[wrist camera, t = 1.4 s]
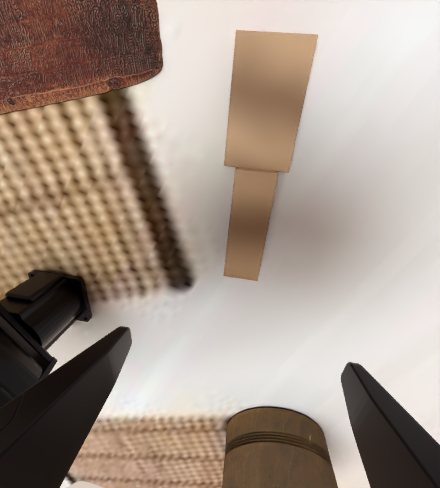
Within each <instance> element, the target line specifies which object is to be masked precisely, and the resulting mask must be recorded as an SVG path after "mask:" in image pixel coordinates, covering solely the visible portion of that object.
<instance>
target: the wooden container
mask: <svg viewBox="0 0 440 488" xmlns="http://www.w3.org/2000/svg"><path fill="white" fill-rule="evenodd" d="M222 488H338V486H337V482H336V479H335V475H334V471H333V468H332V464H331V460H330V456H329V452H328V448H327V445H326V441H325V437H324V434H323V431H322V430H321V428H320V427H319V426H318V425H317V424H316V423H315V422H314V421H312V420H311V419H309V418H308V417H306V416H304V415H302V414H299V413H297V412H293V411H290V410H286V409H280V408H268V407H264V408H254V409H250V410H246V411H243V412H241V413H239V414H237V415H235V416H234V417H233V418H232V419H231V420H230V421H229V423H228V426H227V435H226V447H225V460H224V471H223V484H222Z"/></svg>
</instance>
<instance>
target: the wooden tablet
mask: <svg viewBox="0 0 440 488" xmlns="http://www.w3.org/2000/svg"><path fill="white" fill-rule="evenodd" d="M161 51H162V49H161V41H160V37H159V14H158V7H157V2H156V0H0V114H3V113H7V112H12V111H17V110H22V109H27V108H33V107H39V106H43V105H48V104H53V103H58V102H63V101H67V100H72V99H77V98H82V97H86V96H90V95H96V94H101V93H105V92H108V91H110V90H111V89H112V88H113V89H116V90H117V89H120V88H123V87H127V86H131V85H134V84H138V83H140V82H143V81H145V80H147V79H149V78H151V77H153V76H154V75H156V74H157V73H158V72H159V71H160V69H161V67H162V58H161Z"/></svg>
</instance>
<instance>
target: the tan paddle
mask: <svg viewBox="0 0 440 488" xmlns="http://www.w3.org/2000/svg"><path fill="white" fill-rule="evenodd" d="M317 38H318V35H314V34H296V33H278V32H259V31H241V30H236V37H235V49H234V60H233V71H232V82H231V94H230V105H229V116H228V128H227V139H226V150H225V161H224V166H232V167H237V168H236V169H235V178H234V187H233V196H232V205H231V214H230V223H229V232H228V241H227V250H226V259H225V268H224V276H227V277H234V278H241V279H248V280H255V281H258V276H259V271H260V266H261V260H262V255H263V250H264V245H265V240H266V235H267V230H268V225H269V219H270V214H271V209H272V204H273V199H274V194H275V189H276V183H277V178H278V173H277V172H276V171H280V172H289V168H290V164H291V159H292V154H293V150H294V145H295V140H296V136H297V131H298V126H299V122H300V117H301V112H302V108H303V103H304V98H305V94H306V89H307V84H308V80H309V75H310V70H311V66H312V61H313V56H314V52H315V47H316V42H317Z"/></svg>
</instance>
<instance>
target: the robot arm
mask: <svg viewBox="0 0 440 488" xmlns="http://www.w3.org/2000/svg"><path fill="white" fill-rule="evenodd" d="M28 276H29V278H30V279H28V280H26V281H25V282H23V283H22V284H20V285H18V286H17V287H15V288H13V289H12V290H10V291H8V292H7V293H6V294H5V296H6V297H5V298H4V299H2V300H0V488H60V486H61V484H62V482H63V480H64V479H65V477H66V475H67V473H68V471H69V469H70V467H71V465H72V464H73V462H74V460H75V458H76V456H77V454H78V452H79V450H80V449H81V447H82V445H83V443H84V441H85V439H86V437H87V436H88V434H89V432H90V430H91V428H92V426H93V424H94V422H95V421H96V419H97V417H98V415H99V413H100V411H101V409H102V407H103V406H104V404H105V402H106V400H107V398H108V396H109V394H110V392H111V391H112V389H113V387H114V385H115V383H116V380H117V378H118V376H119V373H120V371H121V369H122V366H123V364H124V361H125V359H126V357H127V354H128V352H129V350H130V347H131V344H132V339H131V332H130V329H129V328H128V327H122V326H121V327H118V328H117V329H115V330H114V331H112V332H111V333H109V334H108V335H106V336H105V337H103V338H102V339H100V340H99V341H98V342H96V343H95V344H93V345H92V346H90V347H89V348H87V349H86V350H84V351H83V352H81V353H80V354H79V355H77V356H76V357H74V358H73V359H71V360H70V361H68V362H67V363H65V364H64V365H62V366H61V367H60V368H58V369H57V370H55V371H54V372H52V373H51V374H49V373H50V372H51V370H52V369H53V367H54V366H55V364H56V362H57V360H56V359H55V358H54V357H52V356H51V355H50V354H49V353H48V352H47V351H46V350H47V349H48V348H49V347H50V346H51V345H52V344H53V343H54V342H55V341H56V340H57V339H58V338H59V337H60V336H61V335H62V334H63V333H64V332H65V331H66V330H67V329H68V328H69V327H70V326H71V325H72V324H73V323H74V322H75V321H76V320H79V321H85V322H88V321H89V320H90V319H91V313H90V308H89V304H88V300H87V295H86V291H85V287H84V282H83V280H82V279H81V278H80V277H74V276H68V275H61V274H54V273H48V272H41V271H31V272H29V273H28ZM341 383H342V387H343V392H344V396H345V401H346V405H347V410H348V415H349V419H350V423H351V427H352V430H353V434H354V437H355V440H356V443H357V446H358V449H359V453H360V456H361V459H362V462H363V465H364V468H365V471H366V475H367V478H368V481H369V484H370V487H371V488H440V445H439V444H438V443H437V442H436V441H435V440H434V439H433V438H432V436H431V435H430V434H429V433H428V432H427V431H426V430H425V429H424V428H423V427H422V426H421V425H420V424H419V423H418V422H417V421H416V420H415V419H414V418H413V417H412V416H411V415H410V414H409V413H408V412H407V411H406V410H405V409H404V408H403V407H402V406H401V405H400V404H399V403H398V402H397V401H396V400H395V399H394V398H393V397H392V396H391V395H390V394H389V393H388V392H387V391H386V390H385V389H384V388H383V387H382V386H381V385H380V384H379V383H378V382H377V381H376V380H375V379H374V378H373V377H372V376H371V375H370V374H369V373H368V372H367V371H366V370H365V369H364V368H363V367H362V366H361V365H360V364H358V363H352V362H349V363H347V364H346V366H345V368H344V370H343V372H342V375H341Z"/></svg>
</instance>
